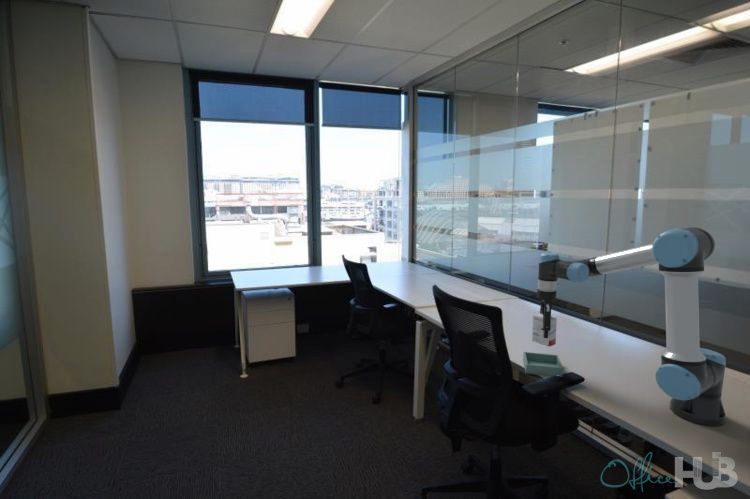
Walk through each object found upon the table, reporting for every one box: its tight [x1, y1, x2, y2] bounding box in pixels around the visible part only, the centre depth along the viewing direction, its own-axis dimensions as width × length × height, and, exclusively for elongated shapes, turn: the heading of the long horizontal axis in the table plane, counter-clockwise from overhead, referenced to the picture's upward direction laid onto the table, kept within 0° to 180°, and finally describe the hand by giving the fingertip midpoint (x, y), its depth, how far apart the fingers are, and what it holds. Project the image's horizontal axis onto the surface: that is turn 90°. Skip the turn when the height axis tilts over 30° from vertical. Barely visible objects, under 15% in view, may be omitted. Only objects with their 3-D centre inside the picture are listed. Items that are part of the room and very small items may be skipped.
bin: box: [522, 351, 564, 377], centre depth 178 cm, size 14×14×4 cm
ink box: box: [531, 312, 558, 347], centre depth 176 cm, size 9×5×12 cm, turn 33°
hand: (543, 340), depth 177 cm, fingers closed on ink box, 9 cm apart
